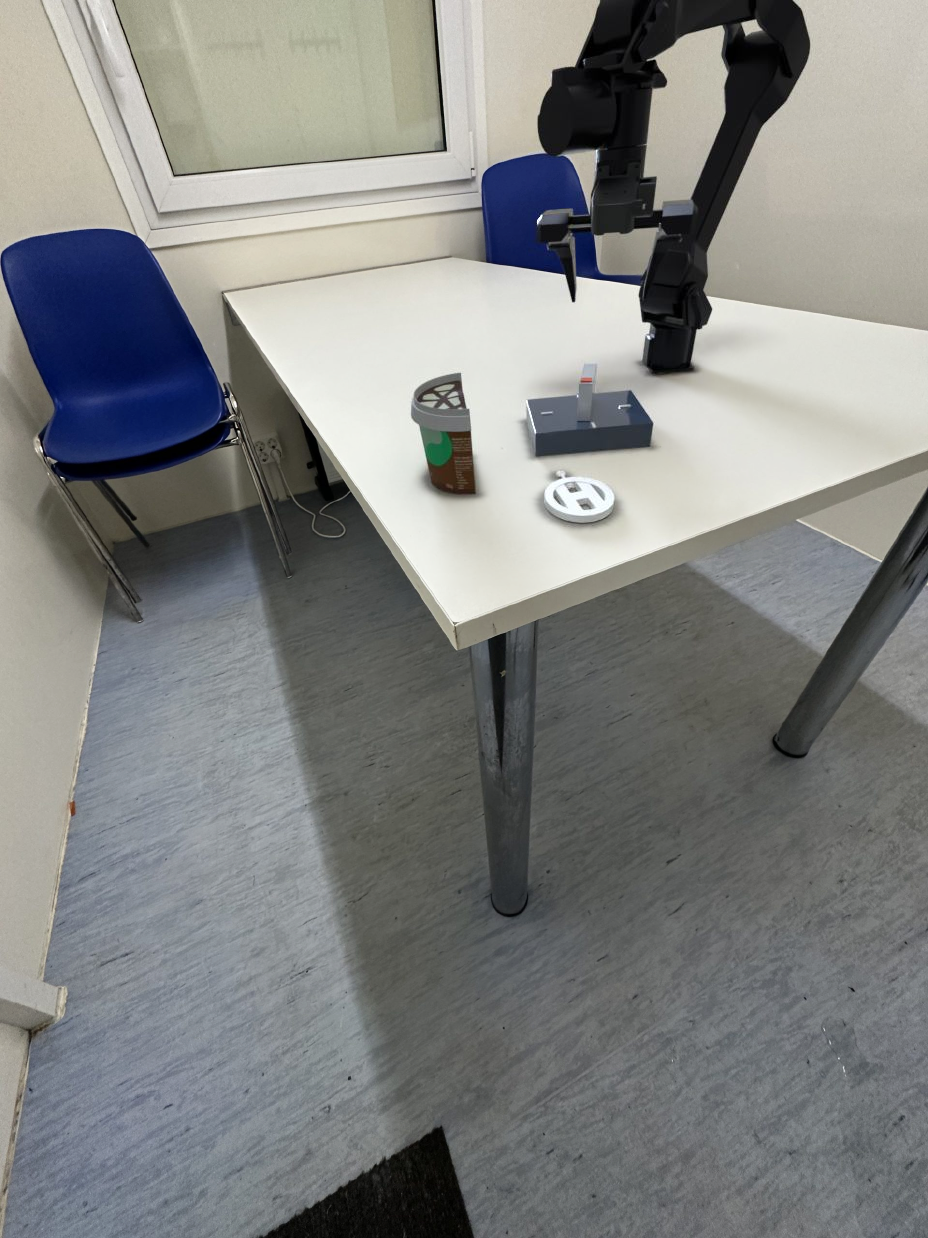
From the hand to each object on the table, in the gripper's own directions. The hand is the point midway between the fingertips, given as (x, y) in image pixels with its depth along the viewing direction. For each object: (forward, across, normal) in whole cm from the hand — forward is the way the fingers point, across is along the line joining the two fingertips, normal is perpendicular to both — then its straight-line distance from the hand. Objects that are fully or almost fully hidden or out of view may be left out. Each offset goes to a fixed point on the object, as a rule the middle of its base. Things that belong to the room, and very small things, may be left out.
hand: (608, 300), depth 73 cm
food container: (+12, -16, -28) cm, 35 cm away
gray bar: (+9, -1, -15) cm, 17 cm away
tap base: (+12, -1, -15) cm, 19 cm away
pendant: (+12, -1, -31) cm, 34 cm away
